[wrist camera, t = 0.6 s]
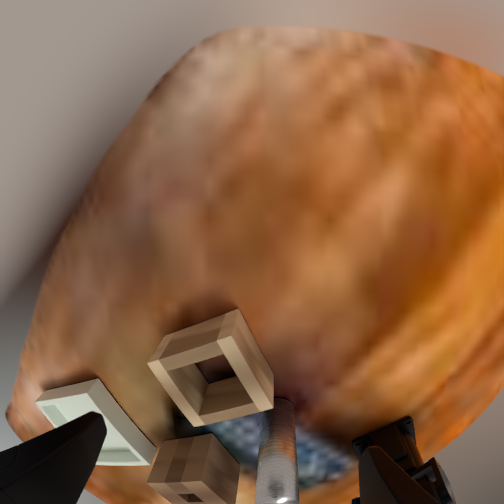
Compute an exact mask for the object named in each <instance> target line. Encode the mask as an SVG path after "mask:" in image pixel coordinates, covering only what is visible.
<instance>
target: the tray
mask: <svg viewBox="0 0 504 504" xmlns="http://www.w3.org/2000/svg"><path fill="white" fill-rule="evenodd" d="M35 403H36V405H37V406H38V407H39V408H40V410H41V411H42V412H43V414H44V415H45V416H46V417H47V419H48V420H49V421H50V422H51V423H52V425H53V426H54V427H55V428H57V427H59V426H61V425H63V424H65V423H67V422H69V421H72V420H74V419H76V418H78V417H80V416H82V415H84V414H86V413H88V412H90V411H94V412H97V413H100V414H102V415H103V418H104V421H105V424H106V427H107V435H106V438H105V440H104V443H103V446H102V449H101V451H100V454H99V457H98V460H97V462H96V465H117V466H134V465H150V464H151V462H152V459H153V457H154V455H155V452H156V450H157V449H156V448H155V447H154V446H153V445H152V444H151V442H150V441H149V440H148V439H147V438H146V437H145V436H144V435H143V434H142V432H141V431H140V430H139V429H138V428H137V427H136V426H135V424H134V423H133V422H132V421H131V420H130V418H129V417H128V416H127V415H126V414H125V412H124V411H123V410H122V409H121V407H120V406H119V405H118V404H117V402H116V401H115V400H114V398H113V397H112V396H111V395H110V393H109V392H108V391H107V389H106V388H105V386H104V385H103V384H102V382H101V381H100V380H99V378H98V379H94V380H90V381H86V382H82V383H77V384H73V385H69V386H64V387H60V388H55V389H50V390H46V391H45V392H44V393H43V394H42V395H41V396H40V397H39V398H38V399H37V400H36V401H35Z"/></svg>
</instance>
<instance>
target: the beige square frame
mask: <svg viewBox="0 0 504 504" xmlns="http://www.w3.org/2000/svg"><path fill="white" fill-rule="evenodd" d="M222 354H224V355H225V356H226V358H227V360H228V361H229V363H230V365H231V366H232V368H233V370H234V371H235V373H236V375H237V376H235V377H232V378H228V379H225V380H222V381H218V382H215V383H211V384H208V383H207V381H206V380H205V378H204V377H203V375H202V374H201V372H200V371H199V369H198V368H197V366H196V365H195V363H197V362H200V361H203V360H206V359H209V358H212V357H216V356H219V355H222ZM147 364H148V366H149V367H150V369H151V370H152V371H153V373H154V374H155V376H156V377H157V379H158V380H159V382H160V383H161V384H162V386H163V387H164V389H165V390H166V391H167V393H168V394H169V395H170V397H171V398H172V399H173V401H174V402H175V403H176V405H177V406H178V407H179V409H180V410H181V411H182V413H183V414H184V415H185V416H186V418H187V419H188V420H189V421H190V423H191V424H192V425H193V426H194V427H196V426H202V425H207V424H212V423H216V422H221V421H225V420H230V419H234V418H238V417H242V416H246V415H250V414H254V413H258V412H261V411H265V410H268V409H272V408H273V396H274V375H273V373H272V371H271V369H270V367H269V365H268V364H267V362H266V360H265V358H264V356H263V354H262V352H261V350H260V349H259V347H258V345H257V343H256V341H255V339H254V337H253V335H252V333H251V332H250V330H249V328H248V326H247V324H246V322H245V320H244V318H243V316H242V314H241V312H240V310H239V308H238V309H236V310H233V311H230V312H228V313H225V314H223V315H220V316H217V317H215V318H212V319H209V320H207V321H204V322H201V323H199V324H196V325H193V326H190V327H188V328H185V329H182V330H179V331H177V332H174V333H171V334H168V335H165V336H164V338H163V339H162V341H161V343H160V344H159V346H158V347H157V349H156V350H155V352H154V353H153V355H152V356H151V358H150V359H149V361H148V362H147Z"/></svg>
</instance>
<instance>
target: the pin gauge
mask: <svg viewBox="0 0 504 504" xmlns="http://www.w3.org/2000/svg"><path fill="white" fill-rule="evenodd" d="M255 504H299V487H298V467H297V449H296V433H295V418H294V406H293V404H292V403H291V402H290V401H288V400H286V399H282V398H274V399H273V408H272V409H268V410H265V411H261V423H260V439H259V453H258V467H257V481H256V494H255Z"/></svg>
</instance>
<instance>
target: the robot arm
mask: <svg viewBox="0 0 504 504" xmlns="http://www.w3.org/2000/svg"><path fill="white" fill-rule="evenodd" d="M106 435H107V427H106V424H105V421H104V418H103V415H102V414H100V413H97V412H94V411H90V412H88V413H86V414H84V415H82V416H80V417H78V418H76V419H74V420H72V421H69V422H67V423H65V424H63V425H61V426H59V427H57V428H55V429H53V430H50V431H48V432H46V433H44V434H42V435H40V436H37V437H35V438H33V439H31V440H28V441H26V442H24V443H21V444H19V445H18V446H14V447H12V448H9V449H7V450H4V451H1V452H0V504H76V503H77V501H78V499H79V497H80V495H81V493H82V491H83V489H84V487H85V485H86V483H87V481H88V479H89V477H90V475H91V473H92V471H93V469H94V467H95V465H96V462H97V460H98V457H99V454H100V451H101V449H102V446H103V443H104V440H105V438H106ZM352 445H353V448H354V450H355V453H356V455H357V457H358V460H359V465H358V468H359V487H360V497H359V498H358V497H357V498H354V499H352V504H456V501H455V497H454V494H453V491H452V487H451V484H450V482H449V480H448V478H447V476H446V474H445V472H444V470H443V469H442V467H441V466H440V465H439V463H438V462H437V460H436V459H435V458H434V457H433V458H431V459H430V460H429V461H428V462H426V463H425V464H424V463H423V460H422V458H421V456H420V453H419V451H418V449H417V447H416V439H415V431H414V424H413V420H412V418H411V417H407V418H405V419H403V420H400V421H398V422H396V423H394V424H392V425H389V426H387V427H385V428H382V429H380V430H377V431H375V432H373V433H370V434H368V435H365V436H362V437H360V438H357V439H355V440H353V441H352Z"/></svg>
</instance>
